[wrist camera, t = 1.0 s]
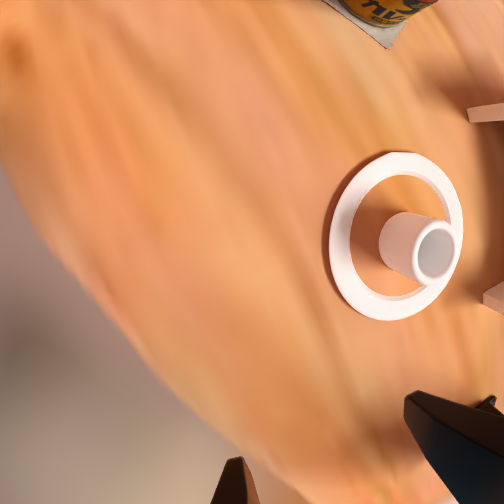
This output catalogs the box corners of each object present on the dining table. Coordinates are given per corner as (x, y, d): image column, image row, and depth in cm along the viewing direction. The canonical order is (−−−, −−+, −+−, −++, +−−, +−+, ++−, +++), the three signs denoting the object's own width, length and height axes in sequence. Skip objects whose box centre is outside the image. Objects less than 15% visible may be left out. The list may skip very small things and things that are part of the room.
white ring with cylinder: (386, 118, 19) (424, 108, 15) (475, 220, 22) (512, 228, 18) (288, 263, 20) (310, 284, 16) (401, 340, 23) (431, 366, 19)
